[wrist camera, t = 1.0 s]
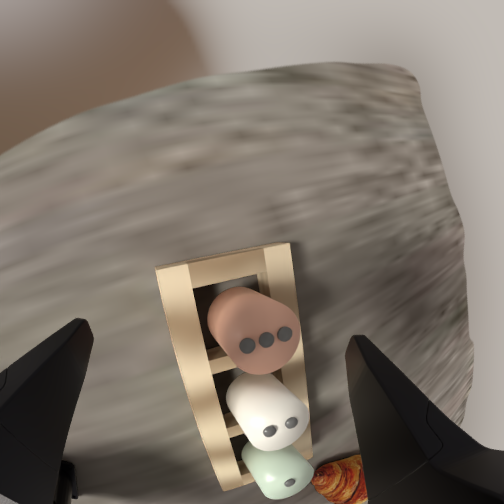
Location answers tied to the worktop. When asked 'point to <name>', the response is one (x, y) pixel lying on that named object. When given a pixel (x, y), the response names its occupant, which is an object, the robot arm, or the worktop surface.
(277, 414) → the key two
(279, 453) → the key one
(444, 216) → the worktop surface
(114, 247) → the worktop surface
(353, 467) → the croissant
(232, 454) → the board
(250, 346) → the key three
